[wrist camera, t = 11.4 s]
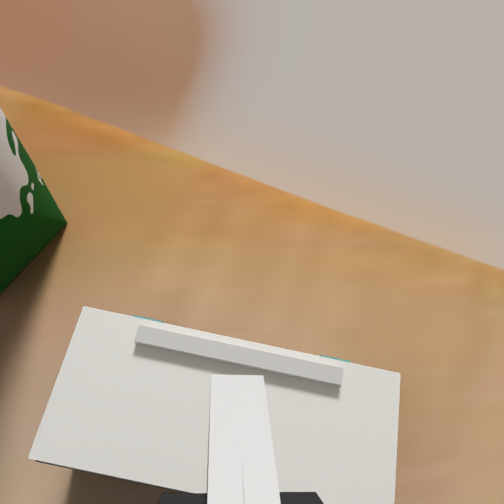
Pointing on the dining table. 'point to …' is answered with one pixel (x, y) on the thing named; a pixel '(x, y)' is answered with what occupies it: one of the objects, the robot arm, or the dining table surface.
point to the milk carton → (22, 207)
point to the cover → (198, 406)
